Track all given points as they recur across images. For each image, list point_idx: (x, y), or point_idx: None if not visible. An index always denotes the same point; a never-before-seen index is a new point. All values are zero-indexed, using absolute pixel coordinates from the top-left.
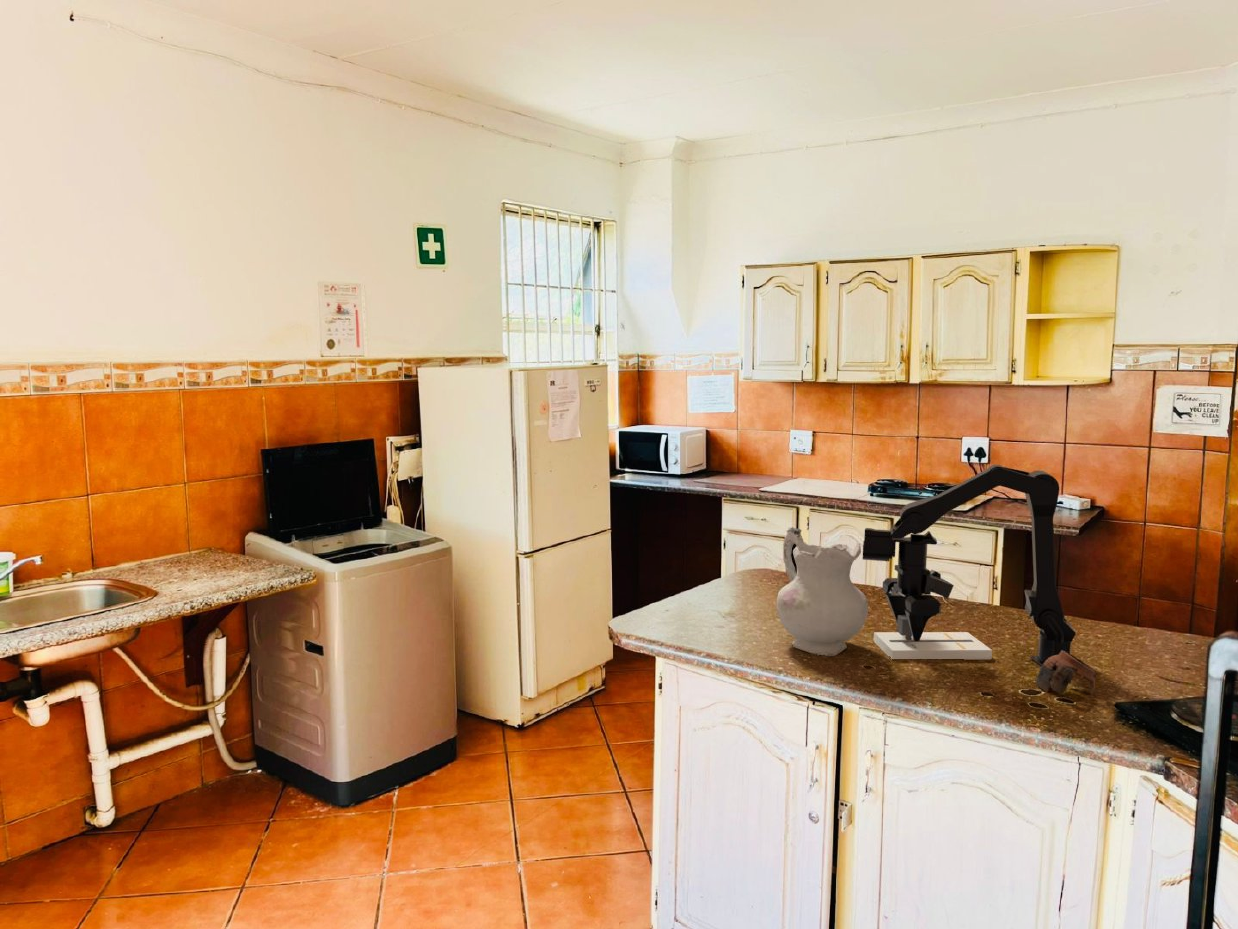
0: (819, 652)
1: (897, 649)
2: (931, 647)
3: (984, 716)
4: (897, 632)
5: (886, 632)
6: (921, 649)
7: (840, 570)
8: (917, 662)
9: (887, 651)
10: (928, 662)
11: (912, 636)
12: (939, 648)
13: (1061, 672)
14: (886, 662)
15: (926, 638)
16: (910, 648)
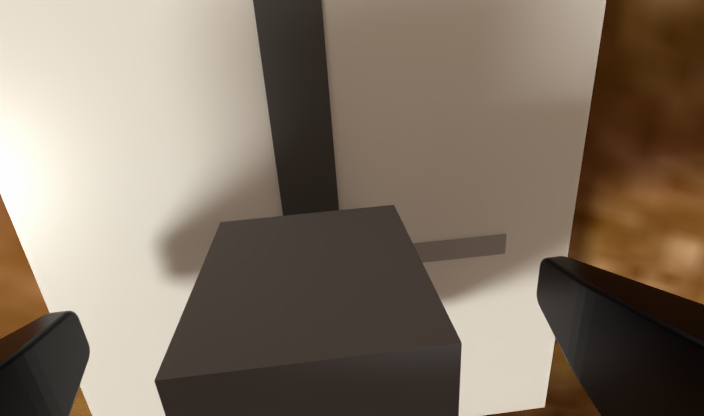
0: None
1: (530, 377)
2: (506, 94)
3: None
4: (48, 302)
5: (83, 387)
6: (550, 206)
7: None
8: (576, 220)
9: None
10: (590, 142)
11: (564, 345)
12: (545, 14)
13: None
14: (548, 388)
15: (196, 53)
16: (517, 288)
